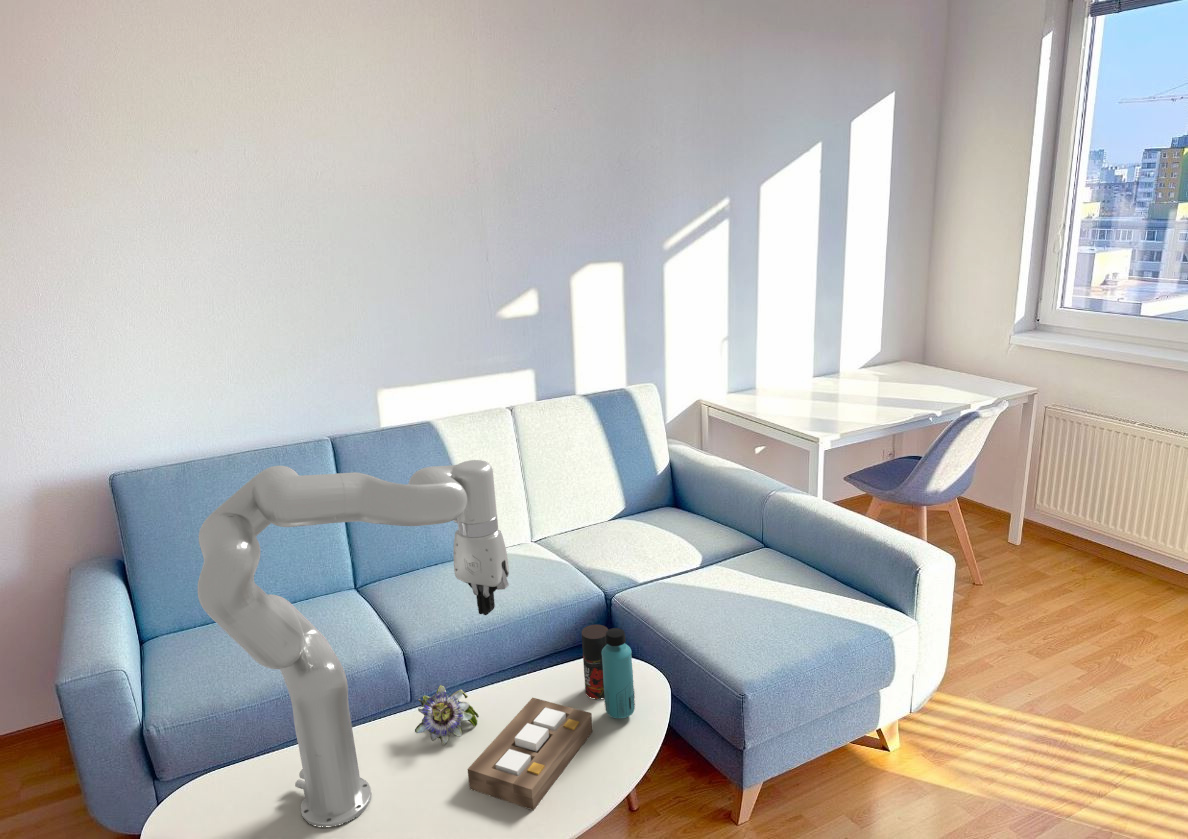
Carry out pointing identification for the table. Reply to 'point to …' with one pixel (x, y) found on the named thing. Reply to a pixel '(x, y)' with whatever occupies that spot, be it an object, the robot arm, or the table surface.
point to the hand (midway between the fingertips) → (486, 611)
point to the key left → (513, 762)
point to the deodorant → (593, 659)
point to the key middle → (531, 737)
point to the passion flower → (445, 714)
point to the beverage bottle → (617, 675)
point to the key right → (550, 719)
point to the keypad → (543, 762)
